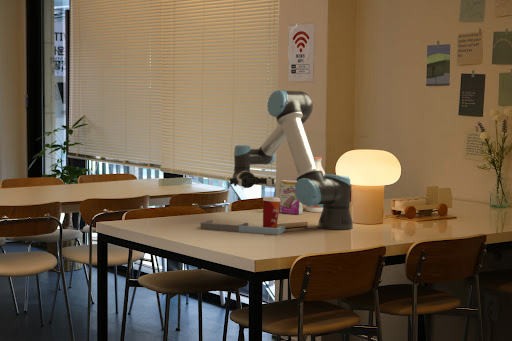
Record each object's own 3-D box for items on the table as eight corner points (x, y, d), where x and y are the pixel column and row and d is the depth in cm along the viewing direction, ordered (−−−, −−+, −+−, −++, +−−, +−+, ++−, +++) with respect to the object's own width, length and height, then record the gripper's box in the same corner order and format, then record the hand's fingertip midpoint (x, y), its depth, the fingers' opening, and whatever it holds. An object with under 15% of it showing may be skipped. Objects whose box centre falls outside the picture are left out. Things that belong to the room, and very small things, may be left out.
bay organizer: (285, 231, 311) (285, 225, 311) (278, 234, 301) (278, 228, 301) (209, 225, 321) (209, 219, 321) (200, 228, 311) (200, 223, 311)
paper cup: (277, 232, 307) (279, 198, 306) (258, 230, 308) (261, 197, 307) (280, 229, 315) (282, 197, 314) (262, 228, 316) (264, 195, 315)
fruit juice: (309, 209, 386) (311, 156, 384) (326, 211, 382) (328, 157, 380) (303, 211, 377) (305, 156, 375) (321, 213, 374) (323, 157, 372)
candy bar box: (278, 213, 369) (279, 180, 368) (282, 212, 373) (283, 179, 372) (298, 215, 364) (299, 181, 362) (303, 214, 368) (304, 181, 367)
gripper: (271, 187, 347) (283, 191, 326) (219, 187, 342) (227, 191, 321) (272, 171, 347) (283, 174, 326) (219, 171, 341) (227, 174, 321)
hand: (255, 182), depth 324 cm, fingers open, 13 cm apart
